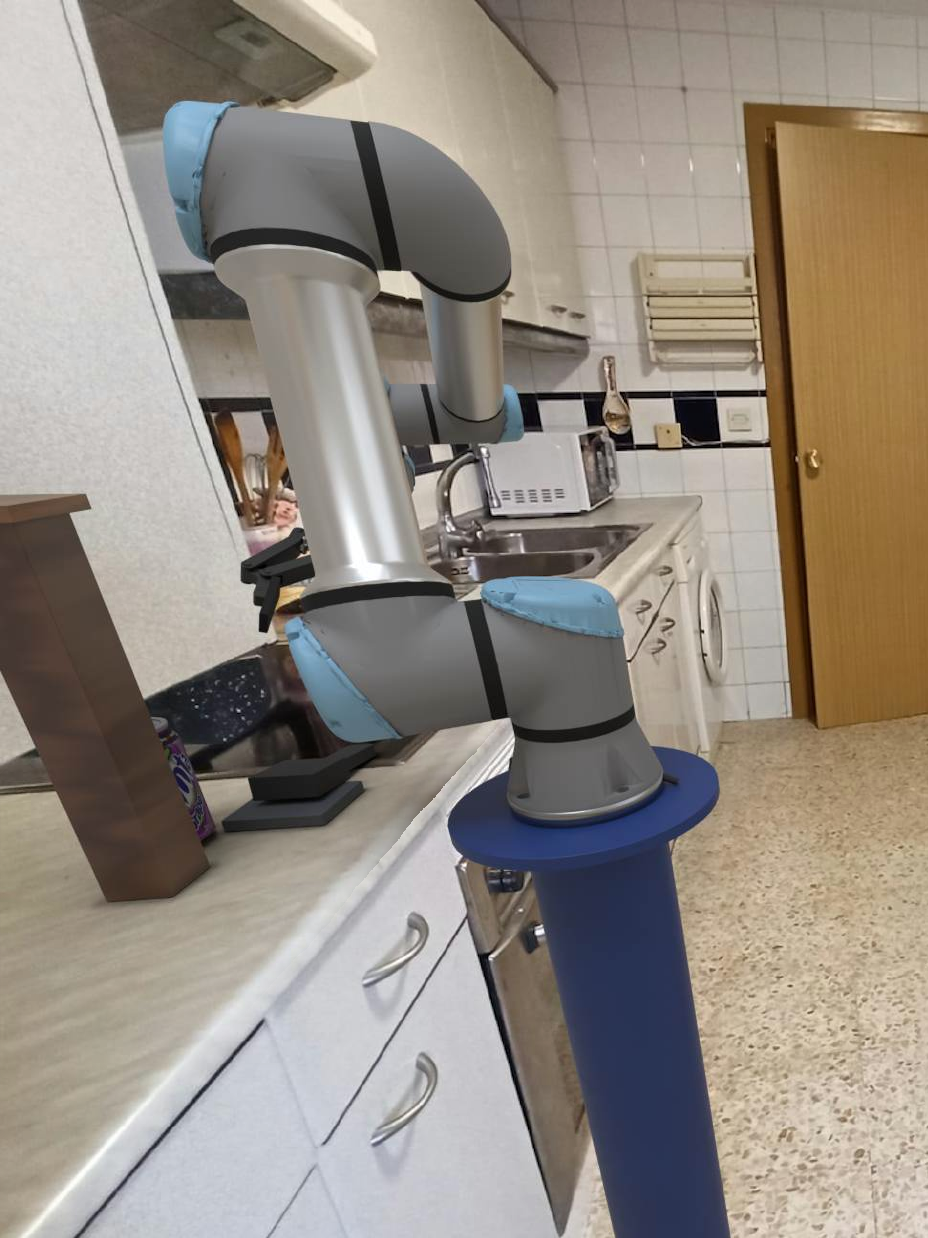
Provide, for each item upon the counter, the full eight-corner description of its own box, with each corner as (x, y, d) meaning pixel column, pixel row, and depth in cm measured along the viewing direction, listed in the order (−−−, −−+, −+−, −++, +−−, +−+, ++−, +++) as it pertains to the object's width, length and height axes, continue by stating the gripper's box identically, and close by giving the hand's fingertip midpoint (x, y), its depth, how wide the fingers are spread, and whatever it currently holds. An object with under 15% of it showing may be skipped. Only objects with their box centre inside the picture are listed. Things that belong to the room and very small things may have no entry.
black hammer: (392, 754, 101) (387, 734, 100) (318, 797, 87) (312, 774, 86) (336, 757, 100) (332, 737, 100) (253, 801, 86) (247, 777, 85)
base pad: (364, 790, 92) (361, 780, 92) (324, 825, 85) (321, 814, 85) (273, 795, 91) (269, 785, 91) (224, 832, 84) (220, 821, 83)
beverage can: (135, 872, 77) (82, 751, 72) (107, 850, 80) (54, 734, 76) (230, 838, 83) (186, 724, 78) (200, 820, 86) (157, 709, 81)
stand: (227, 858, 79) (86, 493, 67) (174, 900, 73) (7, 505, 60) (155, 863, 78) (-3, 494, 66) (95, 906, 72) (-93, 507, 59)
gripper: (475, 573, 118) (463, 679, 105) (241, 523, 104) (194, 638, 91) (484, 530, 114) (473, 634, 101) (242, 471, 100) (192, 584, 87)
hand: (340, 636), depth 96 cm, fingers open, 13 cm apart
